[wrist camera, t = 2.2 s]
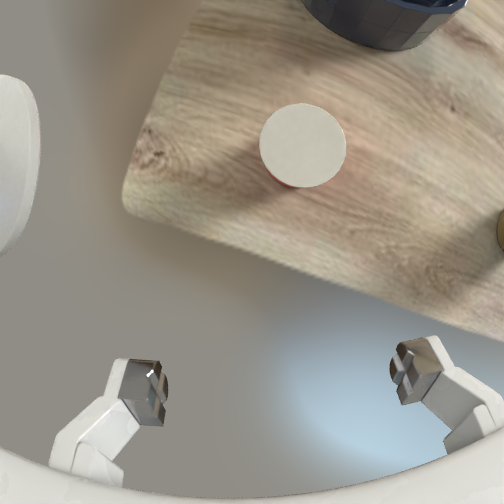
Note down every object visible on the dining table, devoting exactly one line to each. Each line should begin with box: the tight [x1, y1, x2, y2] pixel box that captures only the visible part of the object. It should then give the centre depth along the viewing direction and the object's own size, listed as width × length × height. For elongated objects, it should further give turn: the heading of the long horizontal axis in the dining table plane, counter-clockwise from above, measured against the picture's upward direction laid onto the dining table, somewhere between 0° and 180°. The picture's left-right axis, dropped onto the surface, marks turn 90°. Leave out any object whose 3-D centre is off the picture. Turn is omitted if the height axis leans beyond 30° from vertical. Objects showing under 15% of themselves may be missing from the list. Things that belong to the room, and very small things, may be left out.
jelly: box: [259, 104, 346, 188], centre depth 23 cm, size 6×6×8 cm
